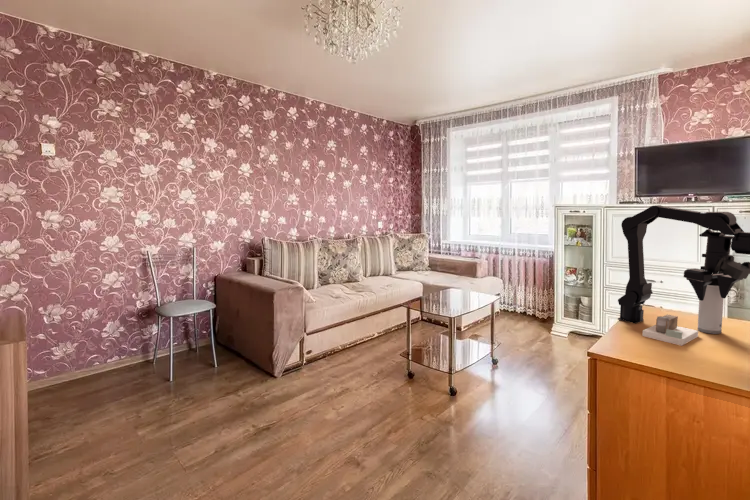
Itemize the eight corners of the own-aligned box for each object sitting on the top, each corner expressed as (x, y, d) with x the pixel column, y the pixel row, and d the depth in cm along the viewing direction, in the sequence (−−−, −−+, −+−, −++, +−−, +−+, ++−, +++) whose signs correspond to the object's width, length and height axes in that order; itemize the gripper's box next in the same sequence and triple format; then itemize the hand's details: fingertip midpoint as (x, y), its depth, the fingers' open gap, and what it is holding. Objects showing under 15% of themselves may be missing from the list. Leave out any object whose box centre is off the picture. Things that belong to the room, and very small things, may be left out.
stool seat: (642, 335, 130) (643, 324, 129) (659, 327, 137) (660, 317, 137) (681, 345, 121) (682, 333, 120) (698, 336, 128) (699, 325, 128)
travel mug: (727, 334, 129) (731, 276, 126) (704, 333, 130) (708, 276, 128) (714, 328, 135) (718, 272, 133) (693, 328, 136) (696, 272, 134)
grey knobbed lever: (665, 333, 125) (666, 320, 125) (654, 330, 128) (655, 317, 127) (677, 327, 130) (678, 314, 130) (666, 325, 133) (667, 312, 132)
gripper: (723, 257, 112) (716, 308, 114) (770, 253, 116) (763, 303, 118) (684, 251, 122) (679, 299, 125) (729, 248, 126) (723, 294, 129)
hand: (712, 299), depth 124 cm, fingers open, 9 cm apart
